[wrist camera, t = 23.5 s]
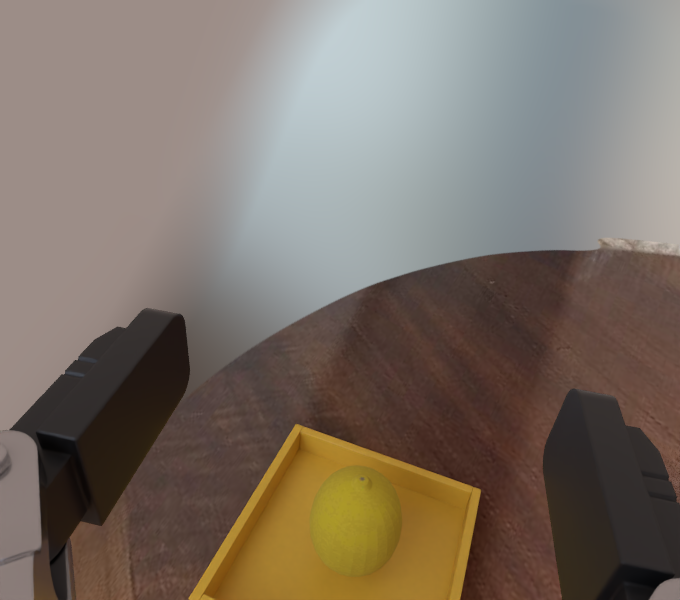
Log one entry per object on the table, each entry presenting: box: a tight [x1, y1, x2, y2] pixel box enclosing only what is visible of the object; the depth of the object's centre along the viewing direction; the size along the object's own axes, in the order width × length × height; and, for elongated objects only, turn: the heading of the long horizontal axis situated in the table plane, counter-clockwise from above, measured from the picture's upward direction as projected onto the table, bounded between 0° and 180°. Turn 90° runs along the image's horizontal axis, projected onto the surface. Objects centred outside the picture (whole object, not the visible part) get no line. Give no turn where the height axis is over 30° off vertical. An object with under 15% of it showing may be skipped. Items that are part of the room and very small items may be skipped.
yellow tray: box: [189, 424, 481, 600], centre depth 34 cm, size 14×14×3 cm
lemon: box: [310, 465, 402, 577], centre depth 32 cm, size 6×6×8 cm
